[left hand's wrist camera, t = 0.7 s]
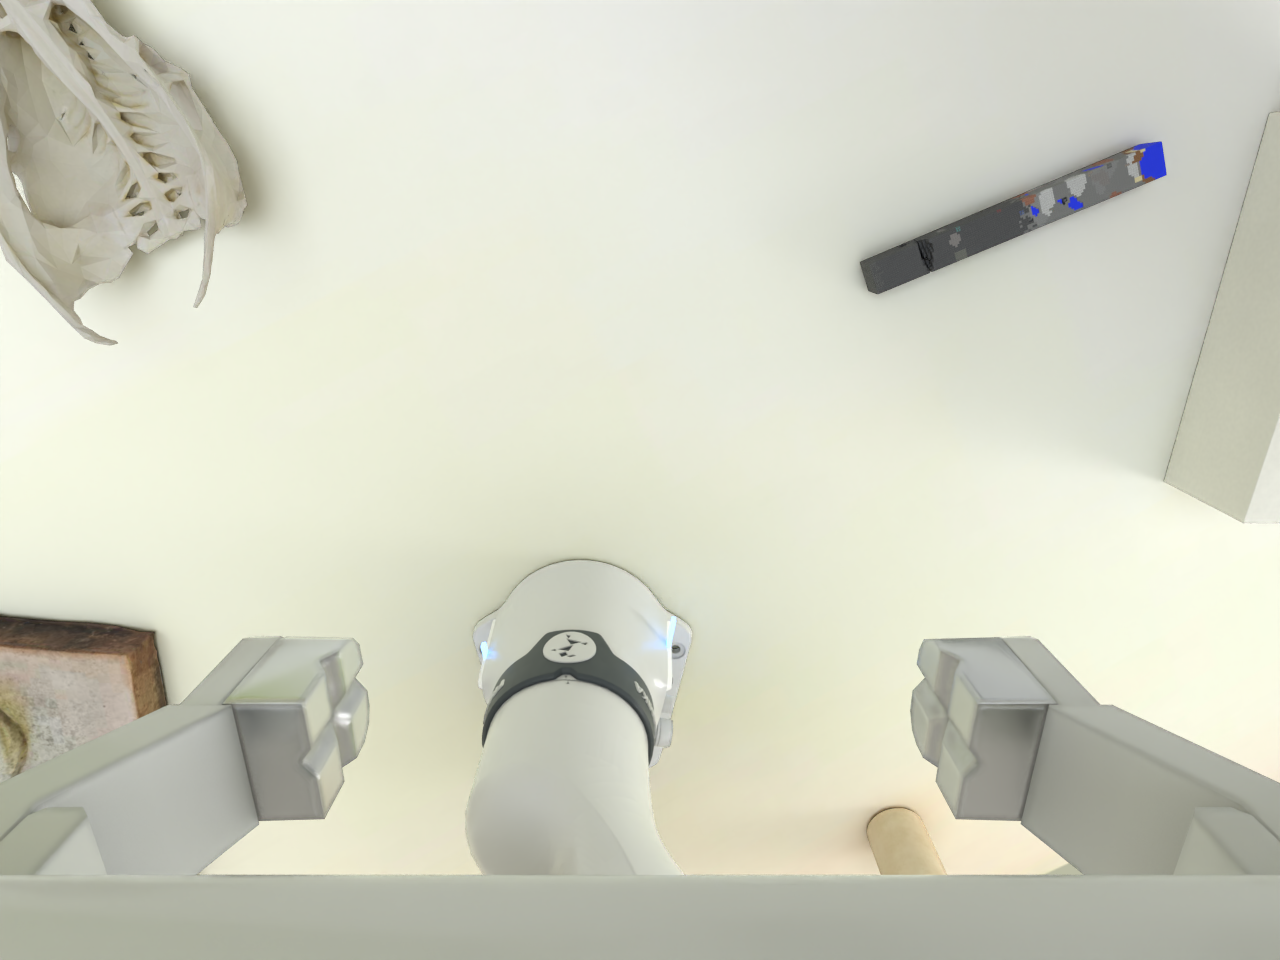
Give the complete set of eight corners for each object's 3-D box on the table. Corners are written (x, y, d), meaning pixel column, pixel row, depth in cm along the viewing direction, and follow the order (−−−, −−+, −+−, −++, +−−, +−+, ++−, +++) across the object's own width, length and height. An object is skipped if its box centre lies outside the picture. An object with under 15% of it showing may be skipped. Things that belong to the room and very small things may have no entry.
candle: (864, 811, 69) (898, 905, 60) (921, 803, 69) (965, 896, 60) (868, 853, 71) (902, 950, 62) (924, 845, 71) (967, 942, 61)
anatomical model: (54, 370, 45) (-266, -77, 36) (145, 341, 54) (-97, -27, 45) (259, 281, 43) (-26, -212, 35) (319, 266, 52) (103, -134, 43)
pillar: (868, 264, 49) (1167, 139, 46) (859, 262, 51) (1144, 142, 48) (877, 294, 50) (1172, 172, 47) (868, 290, 52) (1150, 174, 49)
